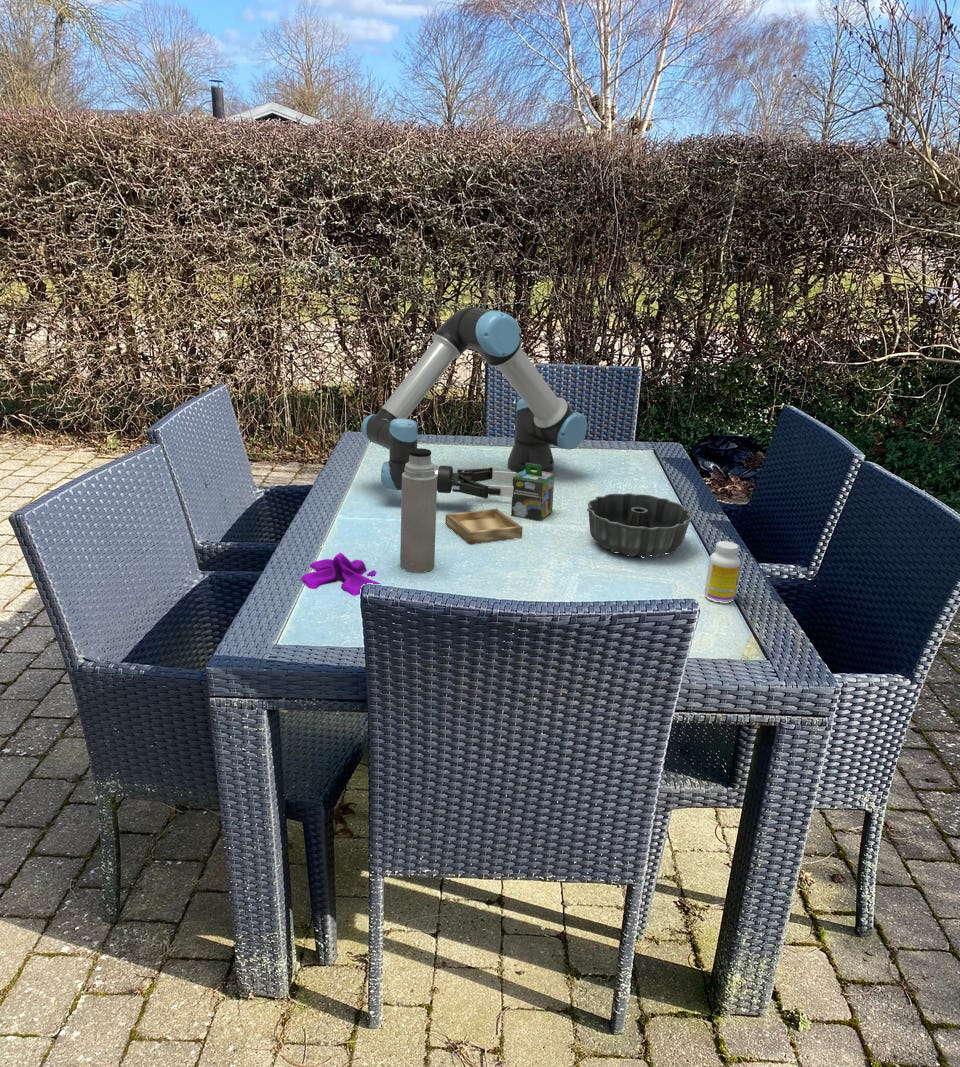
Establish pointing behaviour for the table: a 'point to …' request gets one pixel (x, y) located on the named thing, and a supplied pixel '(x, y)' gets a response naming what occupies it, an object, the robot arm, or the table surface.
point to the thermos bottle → (418, 512)
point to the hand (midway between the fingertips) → (514, 484)
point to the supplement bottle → (723, 572)
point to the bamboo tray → (483, 526)
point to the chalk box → (532, 493)
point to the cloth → (339, 574)
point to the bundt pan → (638, 523)
